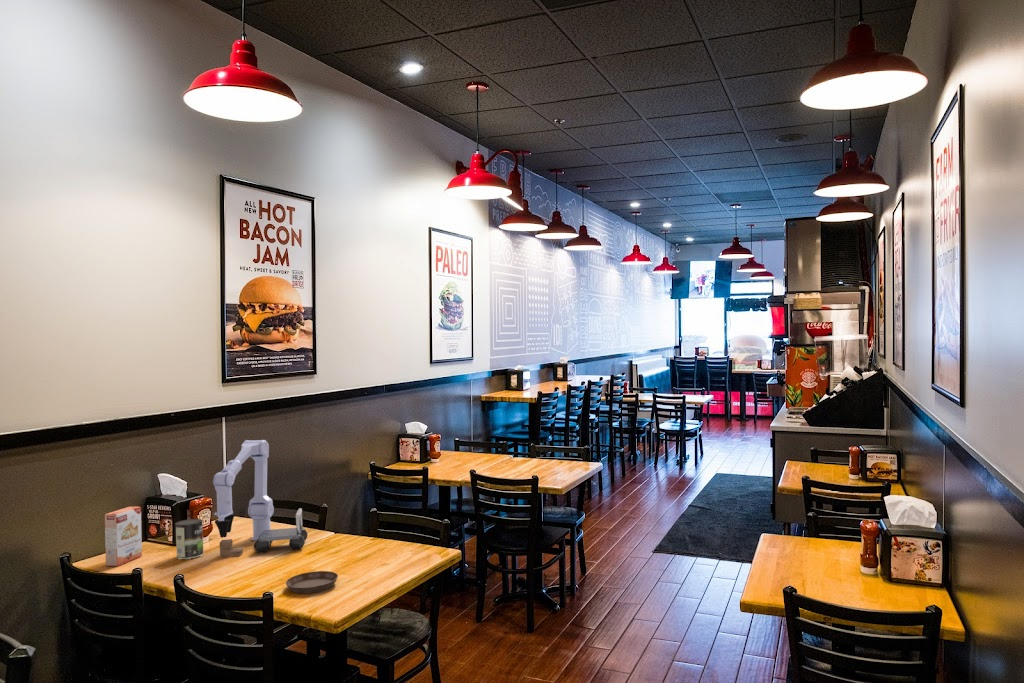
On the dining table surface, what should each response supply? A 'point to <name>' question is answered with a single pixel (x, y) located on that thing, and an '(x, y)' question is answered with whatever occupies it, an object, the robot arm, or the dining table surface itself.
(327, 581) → the plant saucer
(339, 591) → the dining table surface
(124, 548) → the cracker box
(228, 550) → the brown l-shaped block
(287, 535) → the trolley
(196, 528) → the coffee can
